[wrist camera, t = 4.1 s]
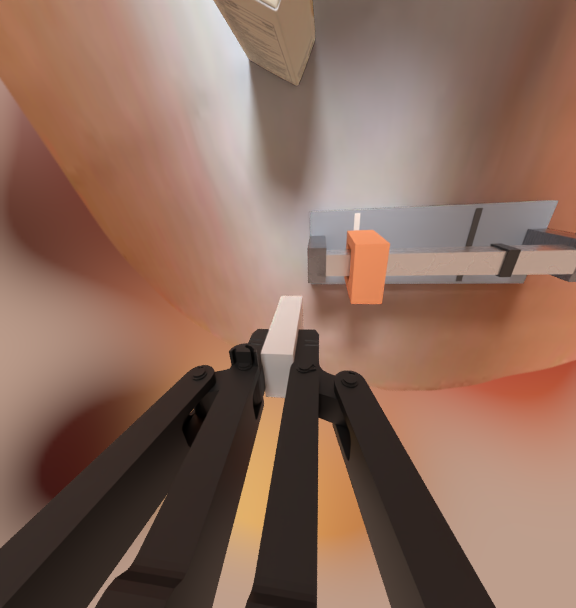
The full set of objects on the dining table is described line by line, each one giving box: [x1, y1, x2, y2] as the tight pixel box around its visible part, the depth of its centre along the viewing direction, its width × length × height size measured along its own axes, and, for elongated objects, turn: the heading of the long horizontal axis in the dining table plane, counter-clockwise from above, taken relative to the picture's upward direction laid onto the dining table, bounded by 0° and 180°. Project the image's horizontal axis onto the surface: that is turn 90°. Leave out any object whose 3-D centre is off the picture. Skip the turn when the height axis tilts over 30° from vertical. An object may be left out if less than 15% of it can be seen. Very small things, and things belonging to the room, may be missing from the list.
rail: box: [308, 228, 576, 283], centre depth 27 cm, size 28×4×7 cm, turn 93°
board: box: [310, 200, 558, 284], centre depth 31 cm, size 28×10×1 cm, turn 93°
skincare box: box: [214, 0, 315, 86], centre depth 19 cm, size 6×4×12 cm
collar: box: [344, 230, 390, 304], centre depth 25 cm, size 3×6×8 cm, turn 3°
